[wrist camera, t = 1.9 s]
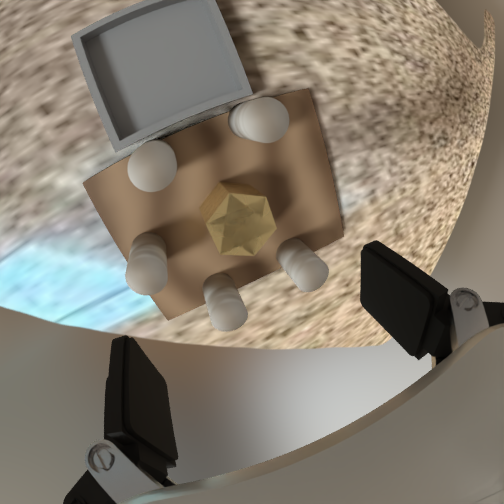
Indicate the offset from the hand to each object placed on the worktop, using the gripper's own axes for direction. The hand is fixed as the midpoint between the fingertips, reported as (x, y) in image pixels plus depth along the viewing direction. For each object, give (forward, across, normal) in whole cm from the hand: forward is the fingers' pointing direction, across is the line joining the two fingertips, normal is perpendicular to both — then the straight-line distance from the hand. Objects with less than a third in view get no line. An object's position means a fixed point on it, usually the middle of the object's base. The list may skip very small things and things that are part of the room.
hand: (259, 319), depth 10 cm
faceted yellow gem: (+20, -3, +3) cm, 21 cm away
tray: (+22, 0, -15) cm, 26 cm away
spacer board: (+22, -3, +3) cm, 22 cm away
